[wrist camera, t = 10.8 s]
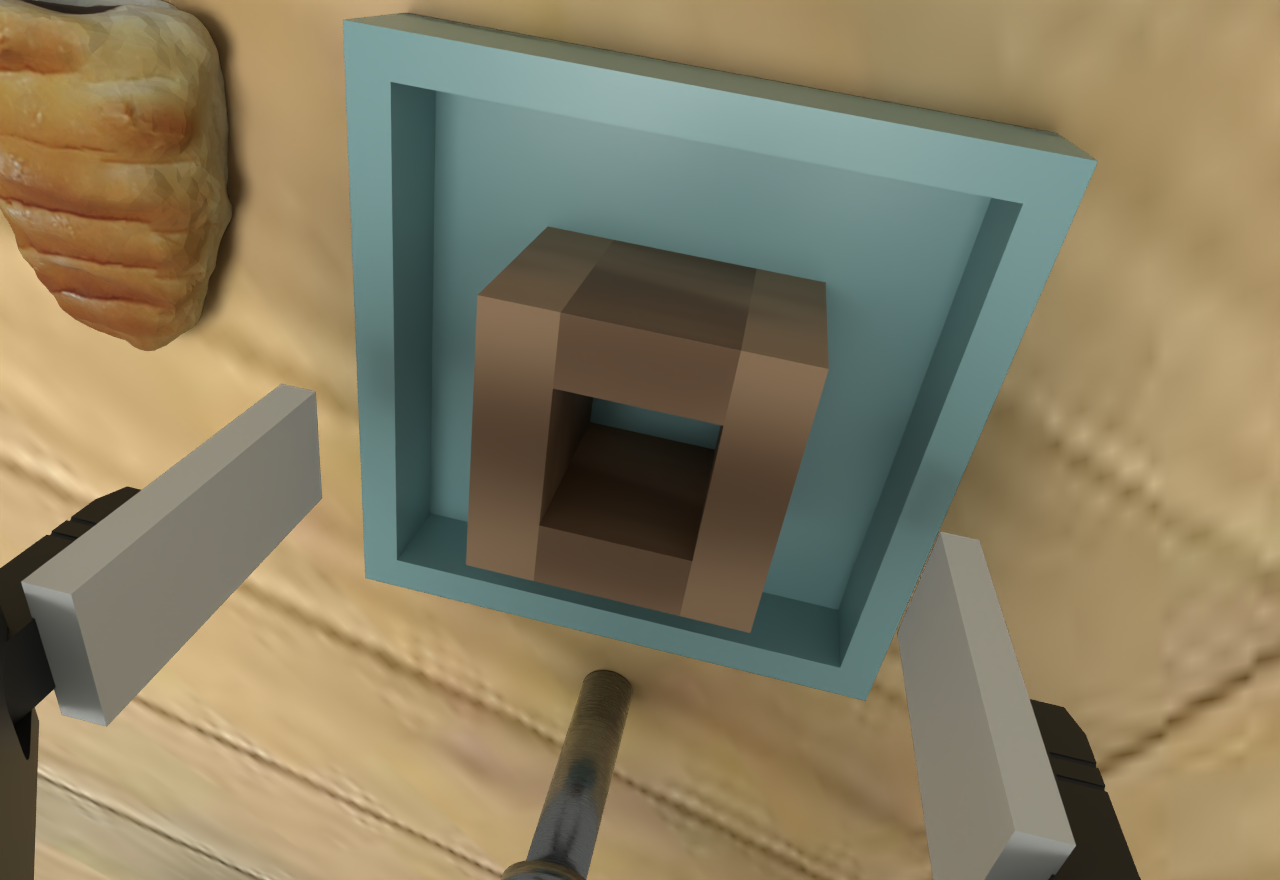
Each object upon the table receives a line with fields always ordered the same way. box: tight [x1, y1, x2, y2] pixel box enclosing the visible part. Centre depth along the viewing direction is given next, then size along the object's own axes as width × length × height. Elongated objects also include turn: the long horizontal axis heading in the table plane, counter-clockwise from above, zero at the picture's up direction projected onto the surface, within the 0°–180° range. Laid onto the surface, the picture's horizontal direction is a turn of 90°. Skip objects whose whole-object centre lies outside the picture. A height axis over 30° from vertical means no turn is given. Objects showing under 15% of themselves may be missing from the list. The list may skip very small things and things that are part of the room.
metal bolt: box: [501, 671, 632, 880], centre depth 26 cm, size 3×3×8 cm
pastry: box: [0, 0, 232, 351], centre depth 21 cm, size 9×7×4 cm
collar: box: [466, 227, 829, 633], centre depth 20 cm, size 7×7×5 cm
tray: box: [343, 13, 1098, 701], centre depth 21 cm, size 15×15×3 cm
